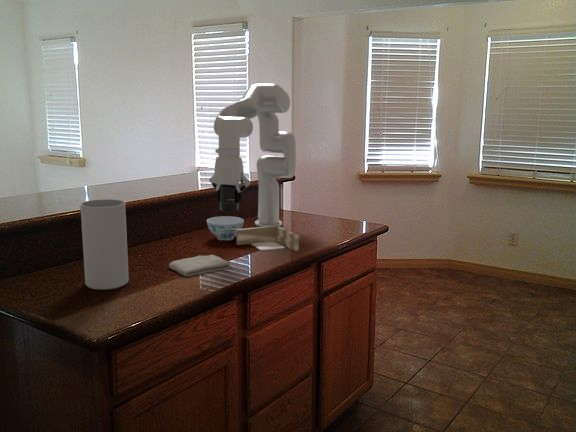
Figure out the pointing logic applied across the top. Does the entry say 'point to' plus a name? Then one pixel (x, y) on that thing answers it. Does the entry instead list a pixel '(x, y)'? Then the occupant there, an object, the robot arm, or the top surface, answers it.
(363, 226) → the top surface
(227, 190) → the supplement bottle
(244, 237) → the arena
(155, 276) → the top surface
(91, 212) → the cylinder vase
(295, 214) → the top surface
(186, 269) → the washcloth
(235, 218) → the chinaware
